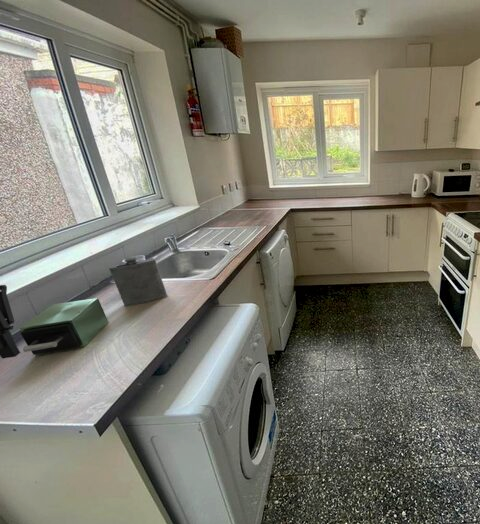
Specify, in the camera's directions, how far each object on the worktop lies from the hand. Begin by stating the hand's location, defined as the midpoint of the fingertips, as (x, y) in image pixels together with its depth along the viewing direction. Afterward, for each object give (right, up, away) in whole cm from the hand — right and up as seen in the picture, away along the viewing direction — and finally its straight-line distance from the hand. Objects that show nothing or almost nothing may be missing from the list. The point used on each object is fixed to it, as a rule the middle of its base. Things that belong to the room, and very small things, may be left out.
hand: (11, 355), depth 71 cm
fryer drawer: (-3, -1, +16) cm, 17 cm away
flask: (+4, +8, +41) cm, 42 cm away
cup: (-8, +13, +56) cm, 58 cm away
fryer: (-4, -1, +20) cm, 20 cm away
